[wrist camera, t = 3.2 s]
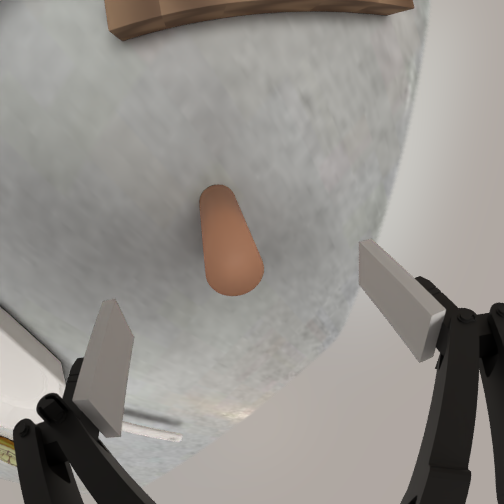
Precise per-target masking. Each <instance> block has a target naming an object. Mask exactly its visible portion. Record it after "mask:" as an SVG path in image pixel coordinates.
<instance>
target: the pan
mask: <svg viewBox="0 0 504 504" xmlns="http://www.w3.org/2000/svg"><path fill="white" fill-rule="evenodd" d="M65 387H66V384H65V379H64V375H63V370H62V365H61V362H60V361H59V360H58V359H57V358H56V357H55V356H54V355H53V354H52V353H51V352H50V351H49V350H48V349H47V348H46V347H45V346H44V345H43V344H41V343H40V342H39V341H38V340H37V339H36V338H35V337H34V336H33V335H31V334H30V333H29V332H28V331H27V330H26V329H25V328H24V327H23V326H22V325H20V324H19V323H18V322H17V321H16V320H15V319H14V318H13V317H12V316H11V315H10V314H8V313H7V312H6V311H5V310H4V309H2V308H1V307H0V427H3V428H7V429H11V430H13V429H14V427H15V425H16V424H17V423H18V422H19V421H20V420H22V419H25V418H27V419H30V420H32V421H33V422H34V423H35V424H38V423H41V422H44V420H43V419H42V418H41V417H40V416H39V415H38V414H37V411H36V407H37V404H38V402H39V400H40V399H41V398H42V397H43V396H45V395H46V394H48V393H57V394H58V395H59V396H60V397H61V398H62V397H63V394H64V390H65ZM122 431H126V432H130V433H134V434H139V435H143V436H148V437H153V438H158V439H163V440H169V441H174V442H181V440H182V434H180V433H175V432H169V431H164V430H159V429H154V428H149V427H145V426H140V425H136V424H132V423H128V422H124V421H122Z"/></svg>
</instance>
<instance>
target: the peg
mask: <svg viewBox="0 0 504 504" xmlns="http://www.w3.org/2000/svg"><path fill="white" fill-rule="evenodd" d="M199 203H200V217H201V229H202V240H203V251H204V262H205V272H206V279H207V281H208V283H209V285H210V286H211V287H212V288H213V289H214V290H215V291H216V292H218V293H220V294H223V295H227V296H238V295H243V294H245V293H248V292H249V291H251V290H253V289H254V288H255V287H256V286H257V285H258V284H259V282H260V281H261V279H262V276H263V273H264V265H263V261H262V259H261V257H260V254H259V252H258V250H257V247H256V245H255V242H254V240H253V238H252V235H251V233H250V231H249V228H248V226H247V224H246V221H245V219H244V217H243V214H242V212H241V210H240V207H239V205H238V202H237V200H236V198H235V195H234V193H233V192H232V191H231V189H229V188H228V187H226V186H224V185H212V186H210V187H208V188H207V189H205V190H204V191H203V193H202V194H201V197H200V201H199Z"/></svg>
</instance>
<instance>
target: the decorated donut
mask: <svg viewBox="0 0 504 504" xmlns="http://www.w3.org/2000/svg"><path fill="white" fill-rule="evenodd" d="M0 459H1V460H2V461H4V462H6V463H8V464H11V465H13V466H16V467H17V463H16V456H15V449H14V442H13V441H10V440H9V439H7V438H4V437H1V436H0Z"/></svg>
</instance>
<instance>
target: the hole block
mask: <svg viewBox="0 0 504 504" xmlns="http://www.w3.org/2000/svg"><path fill="white" fill-rule="evenodd" d="M104 1H105V8H106V15H107V22H108V29H109V31H110V32H111V33H112V34H114V35H115V36H116V37H117V38H119V39H120V40H121V41H124V40H128V39H131V38H134V37H138V36H141V35H145V34H148V33H152V32H156V31H160V30H164V29H168V28H172V27H177V26H181V25H186V24H191V23H196V22H202V21H207V20H213V19H220V18H227V17H234V16H242V15H252V14H263V13H277V12H301V11H328V12H352V13H366V14H376V15H386V16H387V15H391V14H395V13H398V12H402V11H406V10H410V9H414V4H413V0H104Z"/></svg>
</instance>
